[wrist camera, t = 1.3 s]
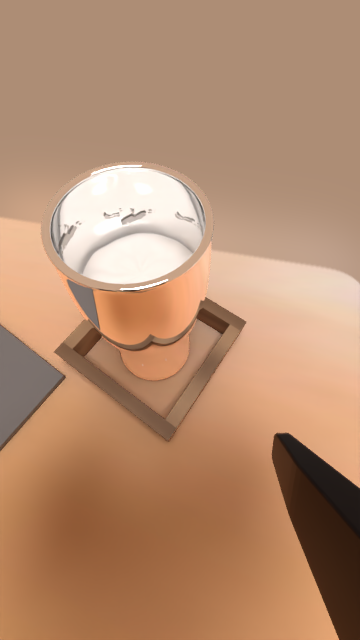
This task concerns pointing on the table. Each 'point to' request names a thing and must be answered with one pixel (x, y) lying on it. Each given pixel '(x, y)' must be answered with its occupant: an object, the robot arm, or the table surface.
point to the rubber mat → (21, 384)
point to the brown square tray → (79, 347)
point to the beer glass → (134, 258)
